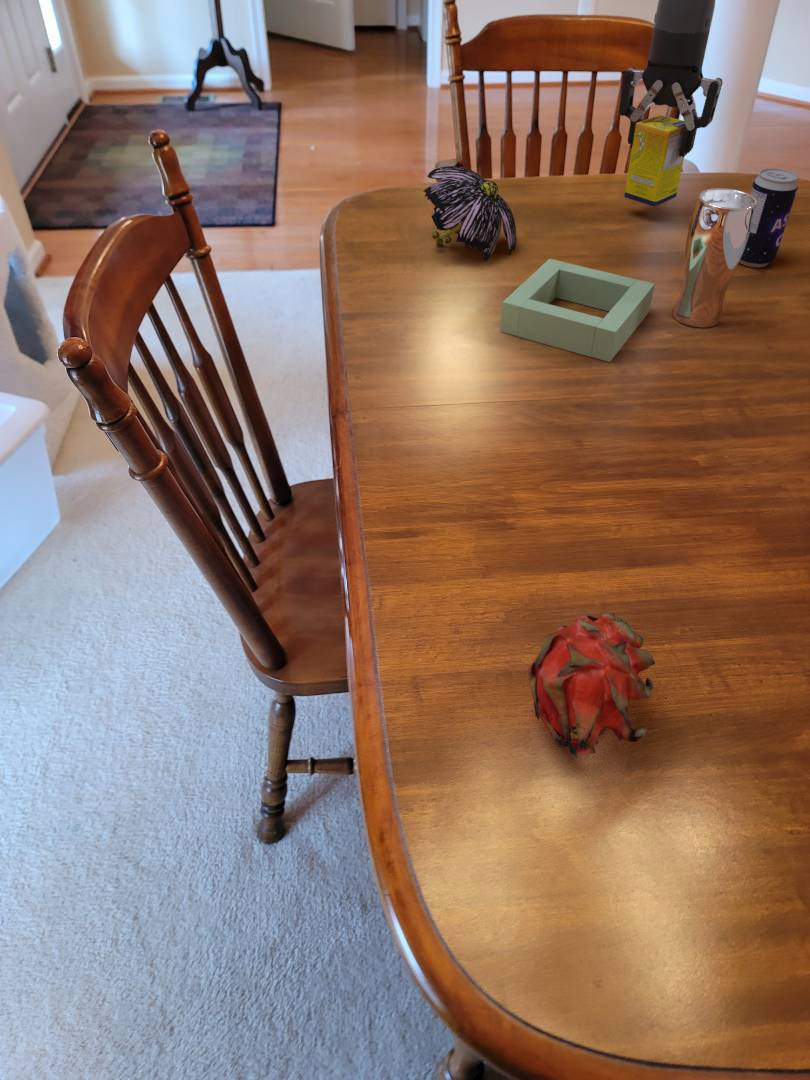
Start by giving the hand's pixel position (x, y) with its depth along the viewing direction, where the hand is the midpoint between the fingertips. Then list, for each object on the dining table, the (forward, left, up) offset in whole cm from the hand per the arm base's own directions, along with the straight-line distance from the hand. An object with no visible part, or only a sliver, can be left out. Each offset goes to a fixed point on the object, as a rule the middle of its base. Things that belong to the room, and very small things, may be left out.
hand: (658, 151), depth 125 cm
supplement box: (0, 0, -7) cm, 7 cm away
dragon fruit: (-27, +95, -10) cm, 99 cm away
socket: (-4, +39, -9) cm, 40 cm away
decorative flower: (+18, +26, -10) cm, 33 cm away
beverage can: (-19, +9, -10) cm, 23 cm away
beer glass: (-17, +30, -10) cm, 35 cm away
